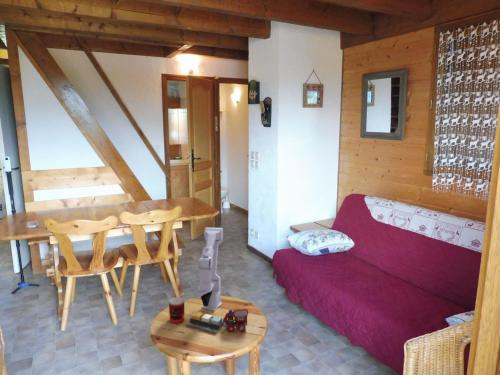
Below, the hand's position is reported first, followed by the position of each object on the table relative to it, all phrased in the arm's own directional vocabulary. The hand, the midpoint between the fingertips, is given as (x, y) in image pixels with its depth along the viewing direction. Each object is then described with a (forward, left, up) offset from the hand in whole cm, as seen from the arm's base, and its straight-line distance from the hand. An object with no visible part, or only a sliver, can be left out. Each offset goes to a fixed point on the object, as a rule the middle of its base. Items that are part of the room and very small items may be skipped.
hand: (205, 305), depth 194 cm
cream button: (+2, +2, -6) cm, 7 cm away
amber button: (+2, -3, -6) cm, 8 cm away
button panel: (+2, +2, -9) cm, 9 cm away
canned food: (+5, -14, -9) cm, 17 cm away
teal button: (+2, +7, -6) cm, 10 cm away
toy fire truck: (0, +17, -9) cm, 19 cm away
